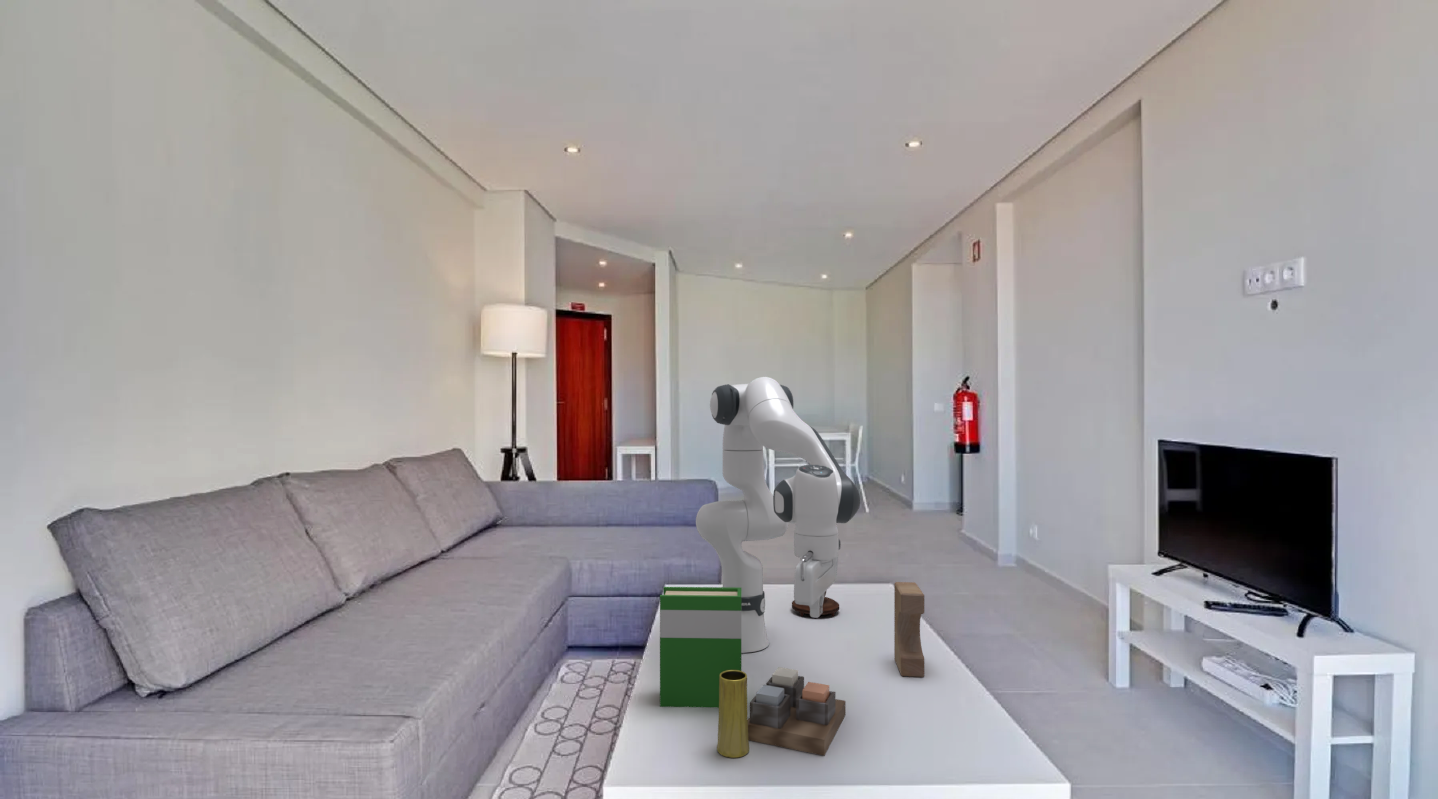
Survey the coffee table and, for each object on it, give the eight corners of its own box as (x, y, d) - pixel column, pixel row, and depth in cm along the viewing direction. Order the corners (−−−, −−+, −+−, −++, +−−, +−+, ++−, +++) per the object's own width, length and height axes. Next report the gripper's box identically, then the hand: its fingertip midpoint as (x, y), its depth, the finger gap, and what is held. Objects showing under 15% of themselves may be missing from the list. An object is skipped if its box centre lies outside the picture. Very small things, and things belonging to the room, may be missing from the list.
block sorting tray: (744, 739, 135) (744, 703, 135) (773, 701, 151) (773, 670, 151) (824, 755, 128) (824, 718, 128) (845, 714, 145) (845, 681, 145)
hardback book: (659, 706, 149) (659, 596, 149) (663, 692, 156) (663, 586, 156) (741, 708, 148) (741, 596, 148) (741, 693, 156) (741, 587, 156)
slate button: (756, 709, 136) (756, 693, 136) (763, 700, 140) (763, 684, 140) (777, 713, 134) (777, 697, 134) (784, 704, 138) (784, 688, 138)
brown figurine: (842, 619, 208) (843, 553, 208) (794, 619, 208) (794, 553, 208) (835, 605, 222) (835, 543, 222) (789, 604, 223) (789, 543, 223)
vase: (715, 742, 133) (715, 669, 133) (747, 741, 134) (747, 668, 134) (718, 759, 127) (718, 682, 127) (751, 757, 128) (751, 681, 128)
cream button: (772, 689, 145) (772, 674, 145) (778, 681, 149) (778, 667, 149) (792, 693, 143) (792, 677, 143) (798, 685, 147) (798, 670, 147)
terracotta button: (802, 706, 137) (802, 690, 137) (808, 697, 141) (808, 681, 141) (824, 710, 135) (824, 693, 135) (829, 700, 140) (829, 685, 140)
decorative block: (924, 678, 164) (924, 594, 164) (900, 676, 165) (900, 593, 165) (917, 660, 175) (917, 582, 175) (894, 659, 176) (894, 581, 176)
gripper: (818, 559, 127) (818, 633, 127) (842, 538, 146) (843, 603, 146) (785, 556, 130) (785, 629, 130) (813, 536, 149) (814, 600, 149)
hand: (816, 615), depth 138 cm, fingers closed
